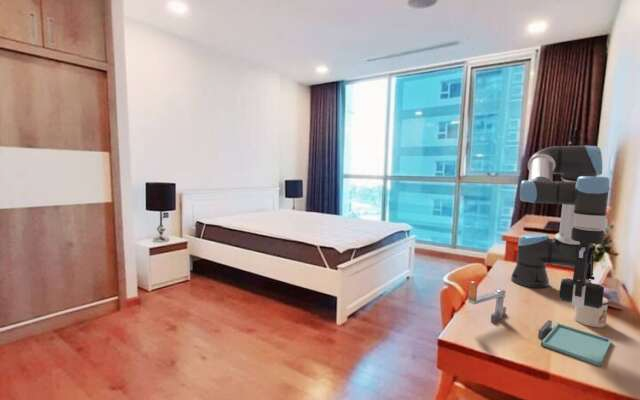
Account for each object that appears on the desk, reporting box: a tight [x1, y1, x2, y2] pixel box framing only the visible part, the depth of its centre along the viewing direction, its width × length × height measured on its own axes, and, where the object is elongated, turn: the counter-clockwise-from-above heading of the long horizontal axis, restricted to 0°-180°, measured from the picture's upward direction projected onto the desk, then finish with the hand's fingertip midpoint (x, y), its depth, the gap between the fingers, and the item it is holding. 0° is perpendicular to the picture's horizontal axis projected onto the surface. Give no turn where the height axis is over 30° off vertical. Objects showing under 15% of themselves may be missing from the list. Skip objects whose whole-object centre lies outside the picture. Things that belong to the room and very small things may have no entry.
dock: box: [490, 297, 553, 340], centre depth 114 cm, size 11×16×8 cm
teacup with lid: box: [573, 296, 610, 328], centre depth 118 cm, size 12×9×12 cm
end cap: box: [559, 278, 605, 309], centre depth 100 cm, size 10×7×7 cm
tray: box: [540, 323, 612, 368], centre depth 102 cm, size 19×14×1 cm
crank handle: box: [467, 280, 506, 305], centre depth 114 cm, size 3×18×8 cm, turn 120°
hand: (580, 302), depth 100 cm, fingers closed on end cap, 7 cm apart
